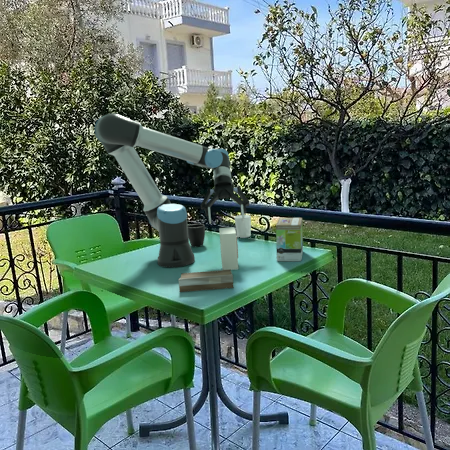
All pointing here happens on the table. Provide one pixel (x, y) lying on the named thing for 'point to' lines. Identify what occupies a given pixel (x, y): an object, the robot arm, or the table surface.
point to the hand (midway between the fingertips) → (226, 220)
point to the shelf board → (206, 280)
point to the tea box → (289, 239)
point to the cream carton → (229, 248)
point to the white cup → (243, 226)
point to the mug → (196, 234)
